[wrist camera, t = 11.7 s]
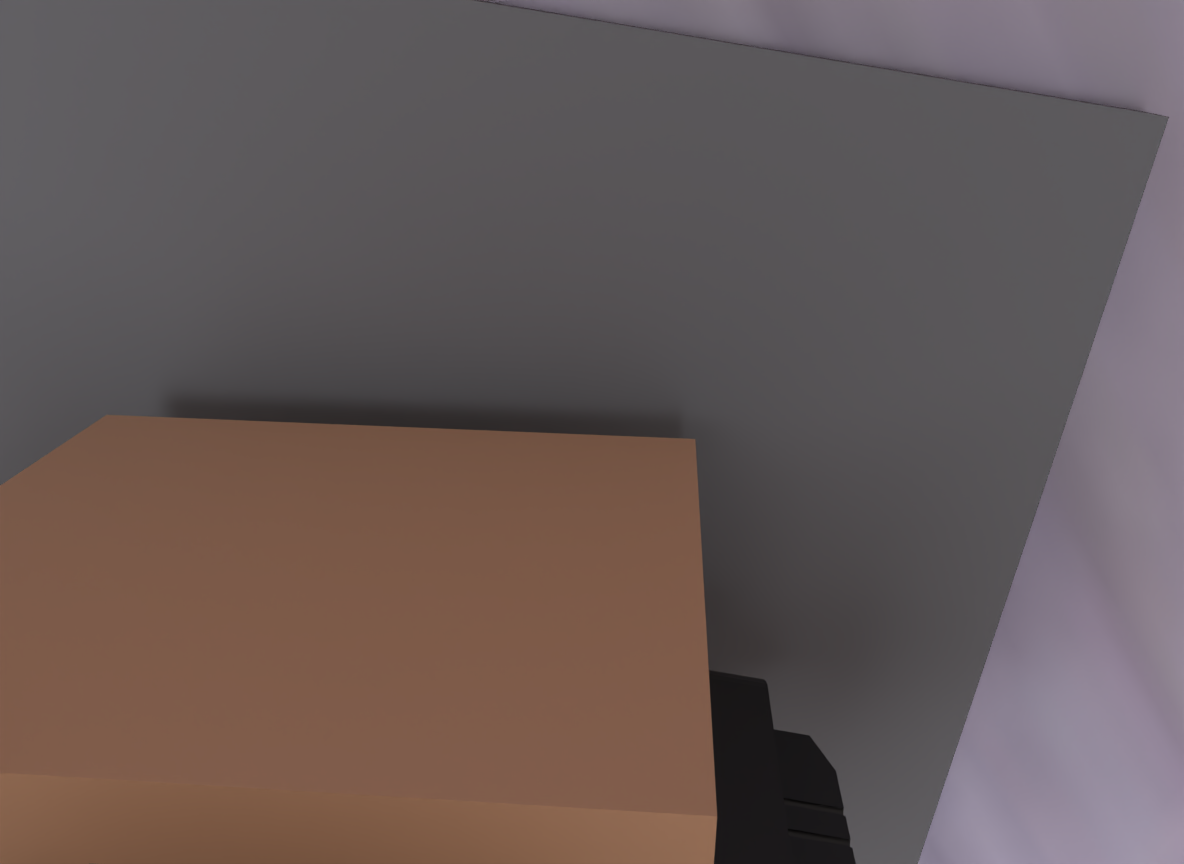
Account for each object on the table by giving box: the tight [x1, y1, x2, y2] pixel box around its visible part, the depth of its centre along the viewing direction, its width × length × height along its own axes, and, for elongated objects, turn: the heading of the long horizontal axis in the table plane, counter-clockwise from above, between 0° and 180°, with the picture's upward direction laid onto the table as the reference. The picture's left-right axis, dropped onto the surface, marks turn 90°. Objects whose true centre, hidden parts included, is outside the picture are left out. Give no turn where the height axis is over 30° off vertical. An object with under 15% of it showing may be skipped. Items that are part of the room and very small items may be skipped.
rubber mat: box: [0, 0, 1169, 864], centre depth 14 cm, size 14×14×1 cm
